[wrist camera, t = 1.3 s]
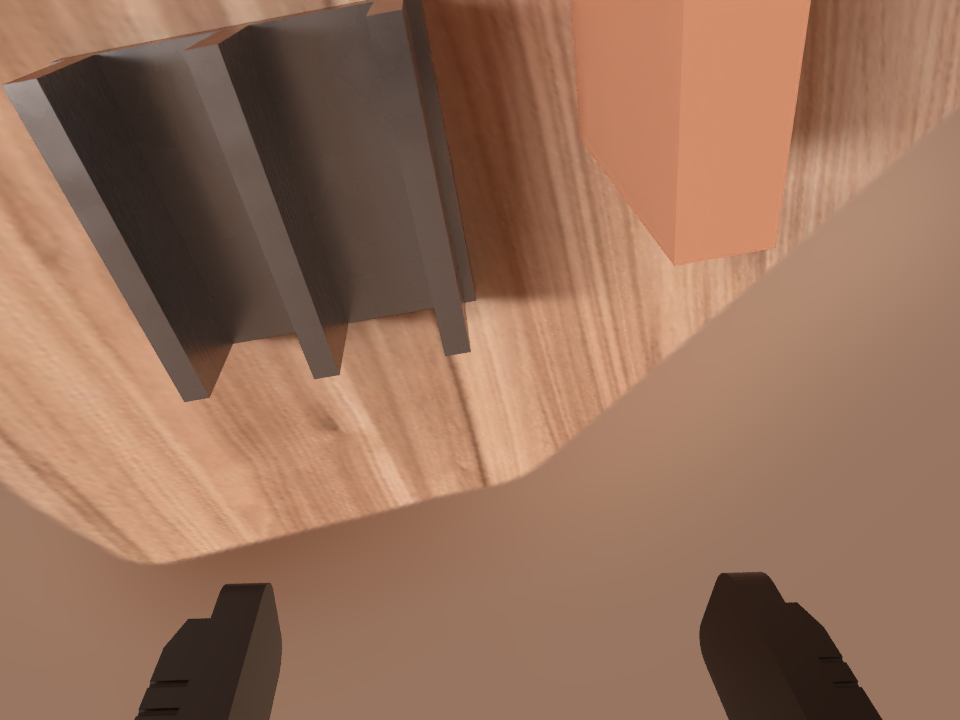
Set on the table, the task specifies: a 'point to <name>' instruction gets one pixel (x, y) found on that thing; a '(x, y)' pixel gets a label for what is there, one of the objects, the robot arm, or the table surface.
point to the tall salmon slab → (692, 114)
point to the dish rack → (262, 181)
